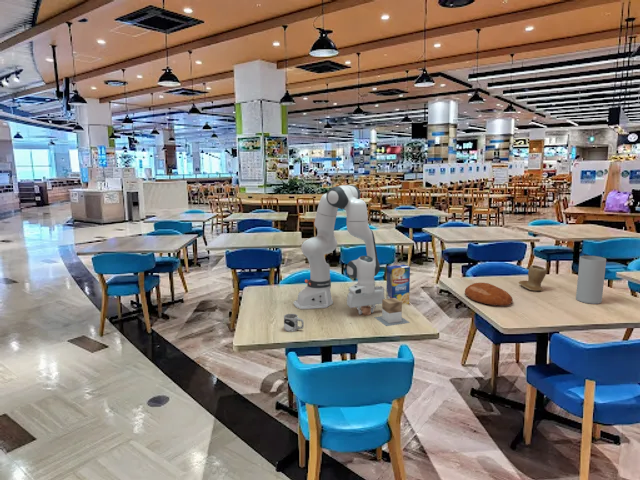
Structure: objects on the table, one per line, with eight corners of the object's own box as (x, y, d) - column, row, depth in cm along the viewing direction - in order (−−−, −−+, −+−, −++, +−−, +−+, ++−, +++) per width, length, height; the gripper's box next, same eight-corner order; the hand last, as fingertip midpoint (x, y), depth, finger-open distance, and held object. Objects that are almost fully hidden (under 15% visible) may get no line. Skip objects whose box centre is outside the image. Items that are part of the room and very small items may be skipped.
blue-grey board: (386, 329, 201) (386, 326, 201) (374, 320, 213) (374, 317, 213) (409, 325, 206) (410, 322, 205) (396, 316, 218) (396, 314, 217)
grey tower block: (388, 323, 205) (389, 313, 204) (382, 318, 211) (382, 308, 211) (401, 321, 207) (401, 311, 206) (394, 316, 214) (394, 307, 213)
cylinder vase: (576, 296, 248) (580, 254, 244) (602, 299, 241) (606, 257, 236) (574, 301, 238) (578, 258, 234) (601, 305, 231) (606, 261, 226)
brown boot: (548, 292, 257) (550, 268, 254) (529, 292, 257) (531, 268, 254) (536, 285, 271) (537, 262, 269) (517, 285, 272) (519, 262, 269)
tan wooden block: (389, 313, 204) (389, 303, 203) (382, 308, 211) (382, 299, 210) (401, 311, 206) (401, 301, 205) (394, 307, 213) (394, 297, 212)
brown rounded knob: (363, 318, 216) (363, 309, 215) (359, 315, 221) (359, 306, 220) (372, 317, 218) (372, 308, 217) (368, 314, 222) (368, 305, 221)
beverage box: (409, 305, 236) (410, 267, 232) (391, 307, 232) (392, 268, 229) (403, 301, 242) (404, 264, 238) (386, 303, 239) (386, 266, 235)
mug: (281, 330, 201) (281, 317, 200) (287, 325, 207) (287, 313, 206) (301, 333, 198) (300, 320, 196) (306, 328, 204) (306, 315, 203)
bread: (489, 310, 227) (490, 294, 225) (454, 293, 257) (454, 279, 255) (523, 305, 234) (524, 290, 232) (485, 290, 264) (485, 276, 262)
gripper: (381, 284, 223) (381, 309, 225) (345, 288, 216) (345, 313, 218) (387, 287, 217) (386, 312, 219) (350, 291, 210) (350, 317, 213)
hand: (365, 313), depth 219 cm, fingers closed on brown rounded knob, 5 cm apart
